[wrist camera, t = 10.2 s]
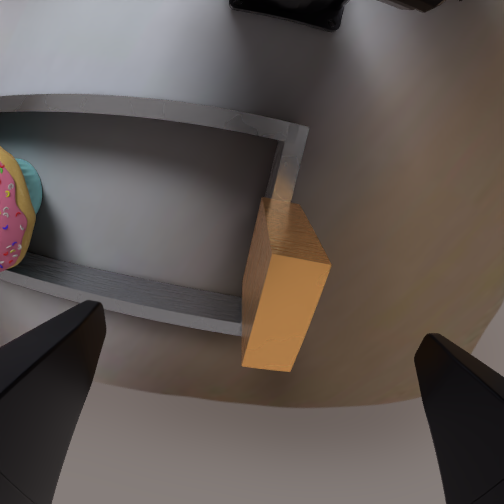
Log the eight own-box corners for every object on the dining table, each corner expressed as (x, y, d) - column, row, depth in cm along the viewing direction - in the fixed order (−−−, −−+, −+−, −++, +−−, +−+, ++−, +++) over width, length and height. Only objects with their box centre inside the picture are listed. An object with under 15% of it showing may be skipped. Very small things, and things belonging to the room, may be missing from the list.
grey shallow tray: (307, 126, 17) (368, 145, 9) (259, 311, 23) (266, 424, 14) (-10, 97, 15) (-107, 114, 6) (-7, 253, 20) (-77, 316, 12)
